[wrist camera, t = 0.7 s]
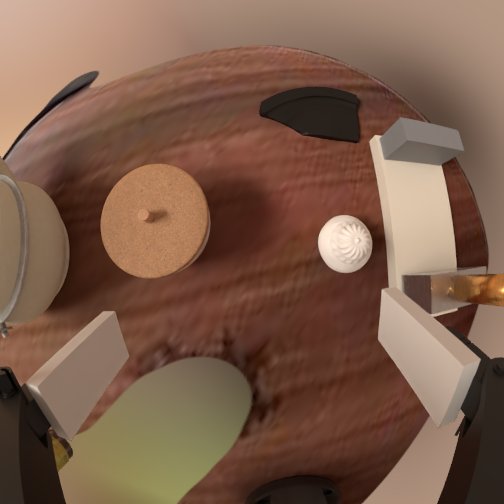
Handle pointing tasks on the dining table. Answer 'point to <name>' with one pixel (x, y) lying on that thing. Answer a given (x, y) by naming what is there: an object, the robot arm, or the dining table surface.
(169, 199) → the lidded jar
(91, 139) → the dining table surface
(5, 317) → the kettle
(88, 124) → the dining table surface
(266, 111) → the curved wedge
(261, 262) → the dining table surface
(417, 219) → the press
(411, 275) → the ram
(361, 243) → the white steamed bun
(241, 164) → the dining table surface
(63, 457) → the sauce bottle
